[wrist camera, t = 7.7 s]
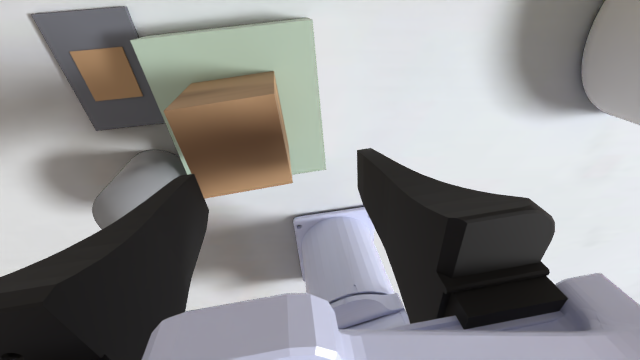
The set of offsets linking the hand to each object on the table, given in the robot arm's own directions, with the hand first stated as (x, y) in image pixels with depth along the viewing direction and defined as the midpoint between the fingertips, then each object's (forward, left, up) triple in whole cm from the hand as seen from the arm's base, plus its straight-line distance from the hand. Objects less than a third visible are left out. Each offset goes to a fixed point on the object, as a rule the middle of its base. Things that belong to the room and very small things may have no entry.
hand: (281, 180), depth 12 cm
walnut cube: (+1, +2, -7) cm, 8 cm away
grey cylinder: (-4, +10, -10) cm, 15 cm away
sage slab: (+1, +2, -10) cm, 11 cm away
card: (+4, +10, -10) cm, 15 cm away
